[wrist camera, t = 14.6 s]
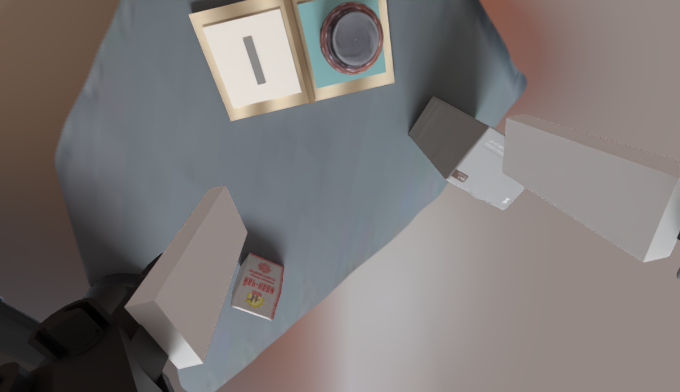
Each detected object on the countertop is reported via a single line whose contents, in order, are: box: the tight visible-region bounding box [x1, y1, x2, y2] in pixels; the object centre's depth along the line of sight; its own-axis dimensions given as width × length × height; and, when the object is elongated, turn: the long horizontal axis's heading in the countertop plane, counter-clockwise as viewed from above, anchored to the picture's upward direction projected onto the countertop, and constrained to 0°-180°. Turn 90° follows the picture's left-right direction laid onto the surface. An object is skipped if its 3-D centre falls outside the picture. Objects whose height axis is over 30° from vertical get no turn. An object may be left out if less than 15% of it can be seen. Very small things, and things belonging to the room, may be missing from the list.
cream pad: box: [203, 9, 302, 108], centre depth 33 cm, size 9×9×1 cm
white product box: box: [230, 253, 284, 321], centre depth 46 cm, size 4×7×10 cm, turn 56°
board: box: [189, 0, 395, 121], centre depth 34 cm, size 22×12×2 cm, turn 102°
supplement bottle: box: [319, 2, 384, 75], centre depth 28 cm, size 6×6×11 cm
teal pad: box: [297, 0, 386, 88], centre depth 33 cm, size 9×9×1 cm
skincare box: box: [408, 96, 526, 210], centre depth 34 cm, size 8×7×16 cm
